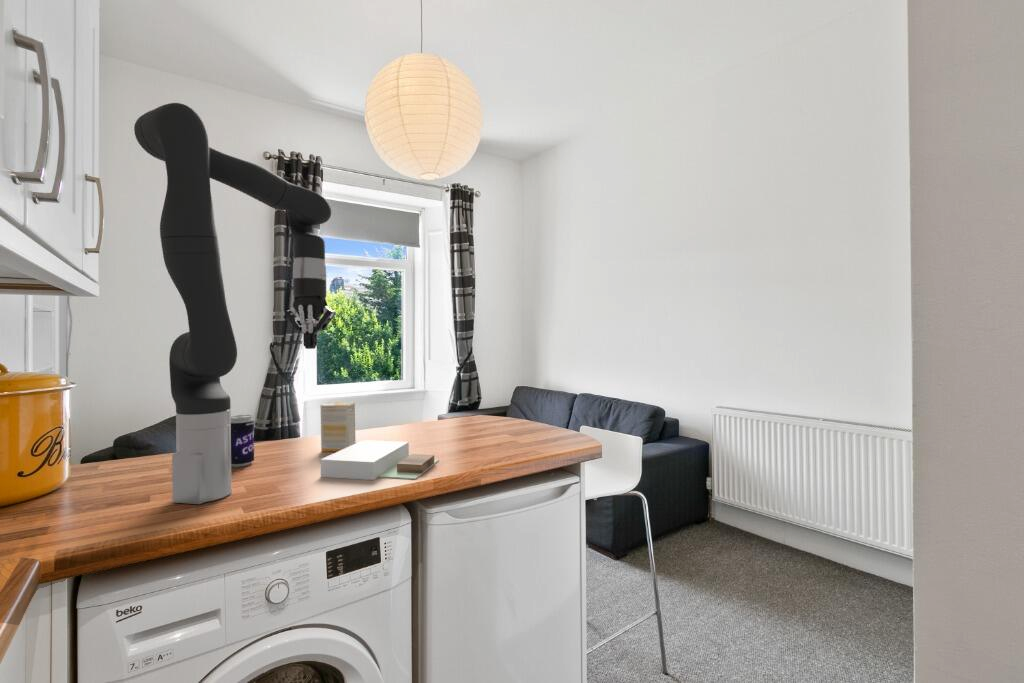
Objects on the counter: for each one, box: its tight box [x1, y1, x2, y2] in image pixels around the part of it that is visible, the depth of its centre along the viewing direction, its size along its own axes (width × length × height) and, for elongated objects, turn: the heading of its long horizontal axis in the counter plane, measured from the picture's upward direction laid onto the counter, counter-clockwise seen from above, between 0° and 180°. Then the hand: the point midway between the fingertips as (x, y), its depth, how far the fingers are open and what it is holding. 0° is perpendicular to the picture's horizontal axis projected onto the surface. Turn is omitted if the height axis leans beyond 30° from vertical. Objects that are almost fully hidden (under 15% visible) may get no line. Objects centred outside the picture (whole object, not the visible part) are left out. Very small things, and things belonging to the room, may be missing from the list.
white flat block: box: [320, 439, 410, 481], centre depth 118 cm, size 20×13×4 cm, turn 170°
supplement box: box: [320, 402, 357, 452], centre depth 135 cm, size 8×5×13 cm, turn 84°
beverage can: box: [231, 414, 255, 468], centre depth 120 cm, size 6×6×12 cm
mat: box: [378, 458, 440, 480], centre depth 117 cm, size 16×9×1 cm, turn 170°
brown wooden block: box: [397, 453, 435, 474], centre depth 116 cm, size 9×6×2 cm, turn 170°
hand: (310, 348), depth 119 cm, fingers closed
